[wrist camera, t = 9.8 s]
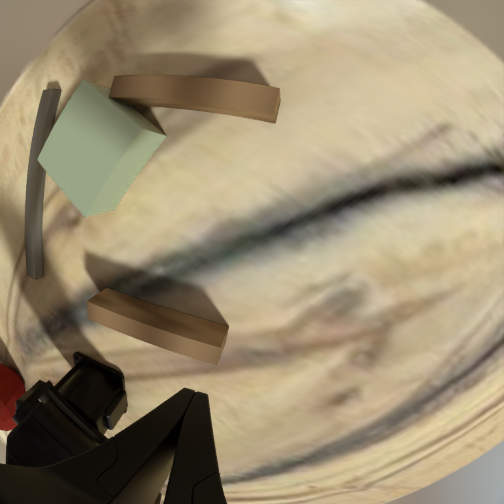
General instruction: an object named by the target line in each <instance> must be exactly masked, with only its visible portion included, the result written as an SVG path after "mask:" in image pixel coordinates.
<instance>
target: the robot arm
mask: <svg viewBox="0 0 504 504" xmlns="http://www.w3.org/2000/svg"><path fill="white" fill-rule="evenodd" d="M73 358H74V363H75V366H74V367H73V368H72V369H71V370H70V371H69V372H68V373H67V374H66V375H65V376H64V377H63V378H62V379H61V380H60V381H59V382H58V383H57V384H56V385H55V386H53V384H52V383H51V381H50V380H49V381H48V382H47V383H45V382H43V381H41V380H39V381H38V382H37V383H36V384H35V385H34V386H33V387H32V388H30V389H29V390H28V391H27V392H26V393H25V394H24V395H22V396H21V397H20V398H19V399H18V400H17V401H16V402H15V405H16V411H15V412H14V413H15V415H14V416H13V417H12V419H13V421H14V422H15V423H16V424H17V426H16V427H15V428H14V429H13V430H12V431H11V432H10V433H9V435H8V437H7V446H6V464H1V463H0V504H154V502H155V500H156V498H157V496H158V494H159V493H160V491H161V489H162V487H163V485H164V483H165V481H166V479H167V477H168V475H169V473H170V477H169V481H168V486H167V490H166V495H165V499H164V504H227V502H226V499H225V496H224V492H223V488H222V483H221V478H220V473H219V467H218V461H217V455H216V449H215V442H214V435H213V428H212V421H211V414H210V406H209V398H208V394H206V393H202V392H198V391H197V392H195V391H194V390H191V389H188V388H183V389H182V390H180V391H179V392H178V393H176V394H175V395H173V396H172V397H171V398H169V399H168V400H166V401H165V402H164V403H162V404H161V405H159V406H158V407H156V408H155V409H153V410H152V411H151V412H149V413H148V414H146V415H145V416H143V417H142V418H140V419H139V420H137V421H136V422H134V423H133V424H131V425H130V426H128V427H127V428H125V429H124V430H122V431H121V432H119V433H118V434H116V435H115V436H114V437H111V438H109V439H108V438H107V437H106V436H104V434H105V432H106V431H107V429H109V430H112V429H114V427H115V425H116V424H117V422H118V421H119V419H120V418H121V416H122V415H123V413H126V411H127V407H128V404H127V394H126V391H125V383H124V376H123V374H121V373H120V372H118V371H115V370H113V369H111V368H109V367H107V366H104V365H102V364H100V363H98V362H96V361H94V360H92V359H90V358H88V357H86V356H84V355H82V354H80V353H78V352H75V353H74V354H73ZM38 399H40V400H41V401H42V402H40V401H39V400H38ZM170 471H171V472H170Z"/></svg>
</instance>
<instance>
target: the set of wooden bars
mask: <svg viewBox="0 0 504 504" xmlns="http://www.w3.org/2000/svg"><path fill="white" fill-rule="evenodd" d="M60 94H61V90H57V89H47V90H43V93H42V96H41V100H40V104H39V108H38V113H37V117H36V122H35V127H34V132H33V137H32V143H31V150H30V157H29V165H28V174H27V185H26V200H25V252H26V268H27V275H28V276H30V277H31V278H33V279H35V280H37V279H39V278H41V277H43V258H42V213H43V195H44V183H45V174H46V170H45V169H44V168H43V167H42V165H41V164H40V163H39V161H38V160H37V159H38V157H39V155H40V153H41V151H42V149H43V147H44V145H45V143H46V141H47V139H48V137H49V135H50V133H51V131H52V129H53V124H54V119H55V115H56V110H57V106H58V102H59V98H60ZM109 98H112V99H114V100H117V101H120V102H122V103H125V104H128V105H130V106H152V107H166V108H178V109H188V110H197V111H205V112H212V113H219V114H226V115H232V116H238V117H244V118H250V119H255V120H260V121H265V122H270V123H276V119H277V114H278V110H279V106H280V88H276V87H271V86H265V85H259V84H253V83H247V82H240V81H233V80H225V79H216V78H205V77H193V76H174V75H124V76H115V77H114V80H113V83H112V87H111V90H110V94H109ZM87 311H88V319H90V320H93V321H95V322H97V323H99V324H102V325H104V326H106V327H109V328H111V329H114V330H116V331H118V332H121V333H123V334H126V335H129V336H131V337H134V338H136V339H139V340H142V341H144V342H147V343H150V344H153V345H155V346H158V347H161V348H164V349H167V350H170V351H173V352H176V353H179V354H182V355H185V356H188V357H192V358H195V359H198V360H202V361H205V362H208V363H212V364H215V365H217V364H218V362H219V359H220V356H221V353H222V351H223V348H224V345H225V342H226V338H227V333H228V329H229V326H226V325H222V324H218V323H215V322H211V321H208V320H204V319H201V318H197V317H194V316H191V315H187V314H184V313H181V312H177V311H174V310H171V309H168V308H165V307H161V306H158V305H155V304H152V303H149V302H146V301H143V300H140V299H137V298H134V297H132V296H129V295H126V294H123V293H120V292H118V291H115V290H112V289H109V288H105V289H104V290H103V291H101V292H100V293H98V294H97V295H95V296H94V297H92V298H91V299H90V300H88V301H87Z"/></svg>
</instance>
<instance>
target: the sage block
mask: <svg viewBox="0 0 504 504" xmlns="http://www.w3.org/2000/svg"><path fill="white" fill-rule="evenodd" d="M109 94H110V89H107V88H105V87H102V86H100V85H97V84H95V83H92V82H89V81H87V80H84V79H83V80H82V81H81V83H80V84H79V86H78V87H77V89H76V90H75V92H74V94H73V95H72V97H71V98H70V100H69V101H68V103H67V105H66V106H65V108H64V110H63V111H62V113H61V115H60V117H59V118H58V120H57V122H56V124H55V125H54V127H53V129H52V131H51V133H50V135H49V137H48V139H47V141H46V143H45V145H44V147H43V149H42V151H41V153H40V155H39V157H38V159H37V160H38V161H39V163H40V164H41V165H42V167H43V168H44V169H45V170H46V172H47V173H48V174H49V175H50V177H51V178H52V179H53V180H54V182H55V183H56V184H57V185H58V187H59V188H60V189H61V190H62V191H63V193H64V194H65V195H66V196H67V197H68V198H69V200H70V201H71V202H72V203H73V204H74V205H75V206H76V208H77V209H78V210H79V211H80V212H81V213H82V214H83V215H84V217H85V218H86V217H89V216H93V215H97V214H101V213H105V212H109V211H113V210H115V209H116V207H117V205H118V204H119V202H120V201H121V199H122V198H123V196H124V195H125V193H126V191H127V190H128V188H129V187H130V186H131V184H132V183H133V181H134V180H135V178H136V177H137V175H138V174H139V172H140V171H141V170H142V168H143V167H144V165H145V164H146V163H147V161H148V160H149V159H150V157H151V156H152V155H153V153H154V152H155V151H156V149H157V148H158V147H159V145H160V144H161V143H162V141H163V140H164V139H165V138H166V135H165V134H164V133H162V132H161V131H160V130H159V129H158V128H157V127H155V126H154V125H153V124H152V123H151V122H149V121H148V120H147V119H146V118H145V117H143V116H142V115H141V114H140V113H139V112H137V111H136V110H135V109H134V108H133V107H131V106H130V105H128V104H125V103H122V102H120V101H117V100H114V99H112V98H109Z"/></svg>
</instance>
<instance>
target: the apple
mask: <svg viewBox="0 0 504 504" xmlns="http://www.w3.org/2000/svg"><path fill="white" fill-rule="evenodd" d="M25 393H26V390H25V386H24V383H23V381H22V379H21V377H20V376H19V374H18V373H17V372H16V371H15V370H14V369H12V368H10V367H8V366H5V365H3V364H0V430H4V431H9V430H12V429H14V428H15V427H16V426H17V424H16V423H15V422H14V421H13V419H12V417H13V416H14V415H15V413H14V412H15V411H16V405H15V402H16V401H17V400H18V399H19V398H20V397H21V396H22V395H24V394H25Z"/></svg>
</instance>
